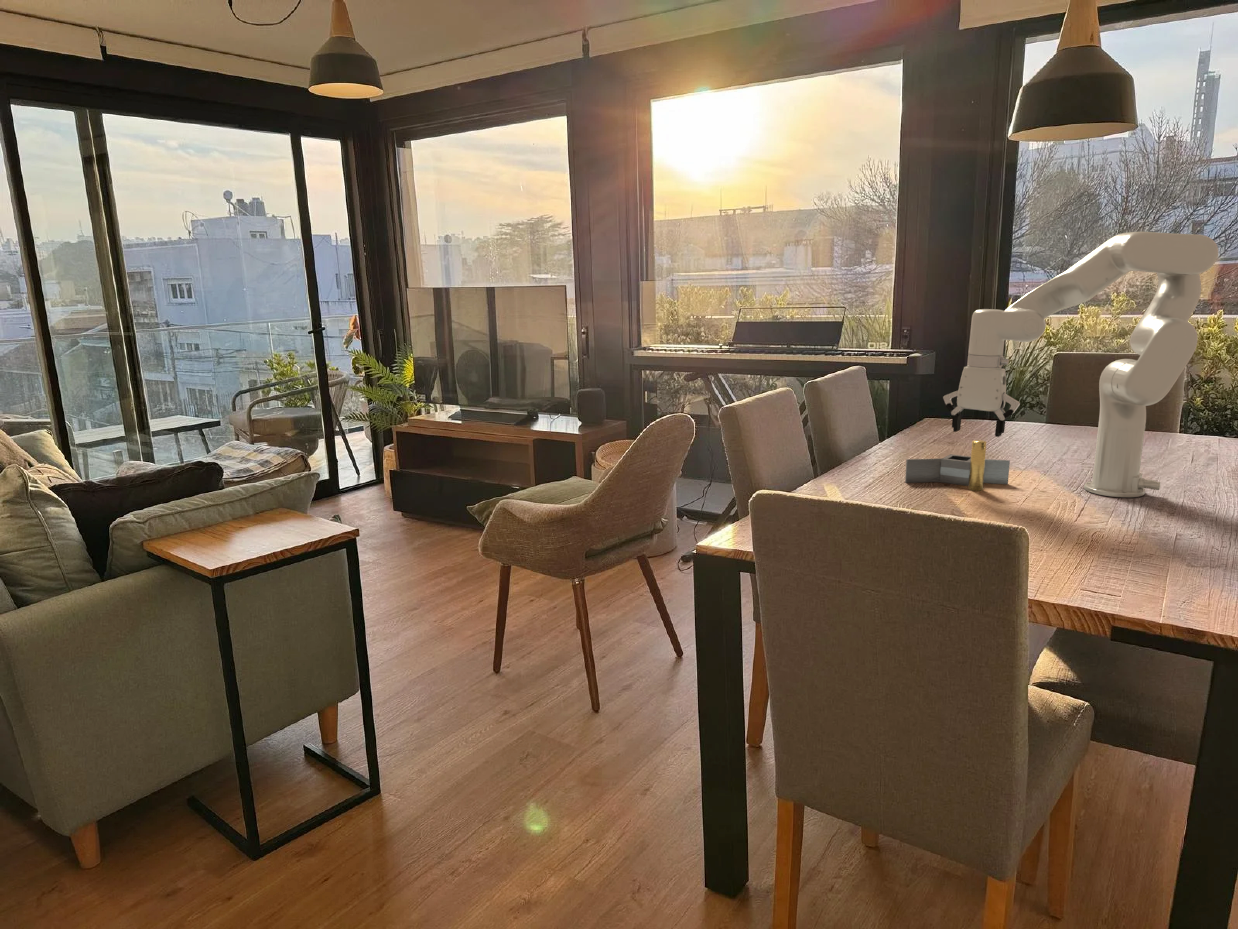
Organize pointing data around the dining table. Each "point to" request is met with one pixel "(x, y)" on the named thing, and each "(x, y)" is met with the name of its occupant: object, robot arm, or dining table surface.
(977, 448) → the pin
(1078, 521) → the dining table surface
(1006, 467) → the grey winged square socket
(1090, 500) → the dining table surface
